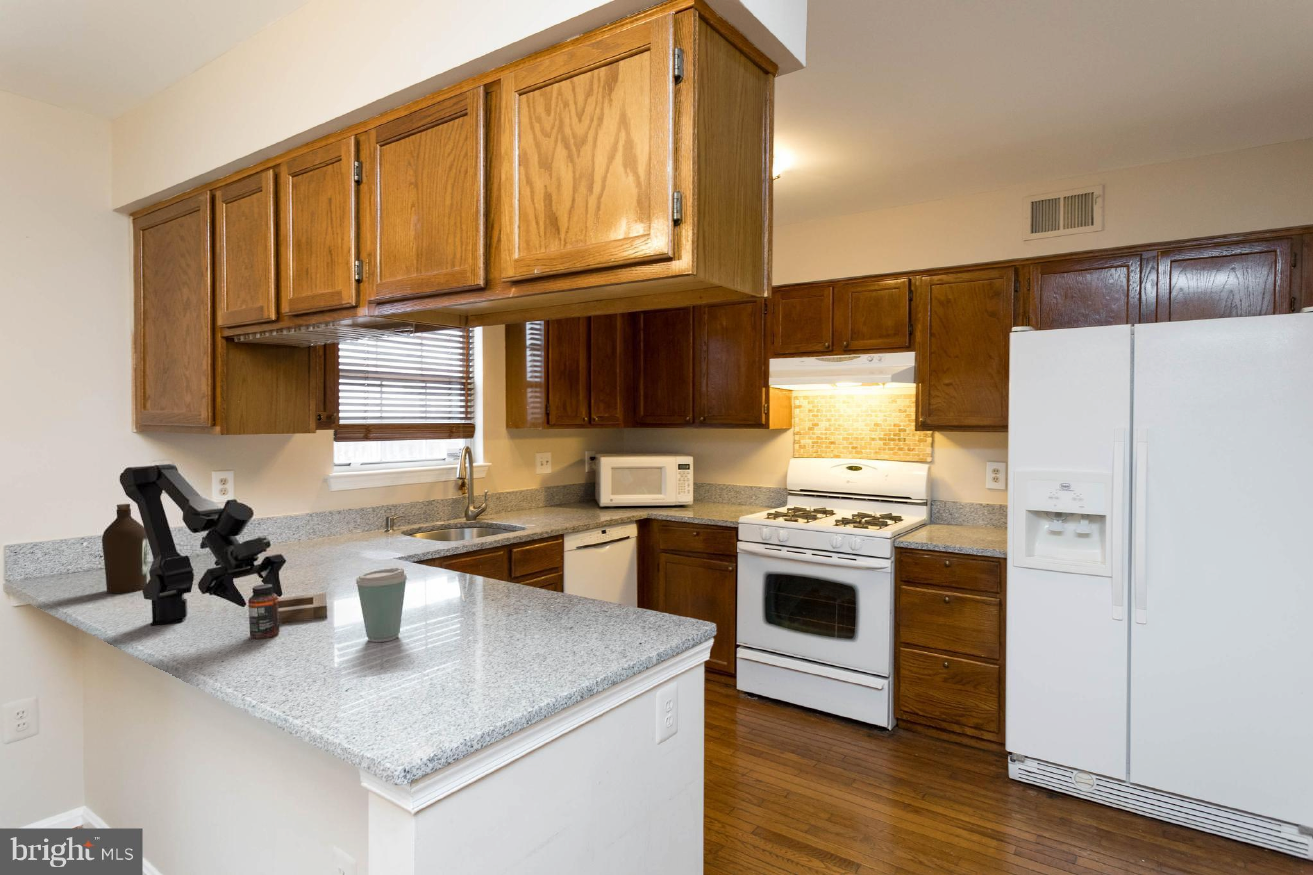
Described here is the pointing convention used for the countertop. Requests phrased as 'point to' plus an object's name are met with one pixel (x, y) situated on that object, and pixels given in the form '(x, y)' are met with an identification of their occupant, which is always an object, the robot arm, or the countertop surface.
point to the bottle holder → (302, 608)
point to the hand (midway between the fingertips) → (263, 600)
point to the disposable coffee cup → (382, 602)
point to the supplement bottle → (263, 612)
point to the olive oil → (125, 553)
